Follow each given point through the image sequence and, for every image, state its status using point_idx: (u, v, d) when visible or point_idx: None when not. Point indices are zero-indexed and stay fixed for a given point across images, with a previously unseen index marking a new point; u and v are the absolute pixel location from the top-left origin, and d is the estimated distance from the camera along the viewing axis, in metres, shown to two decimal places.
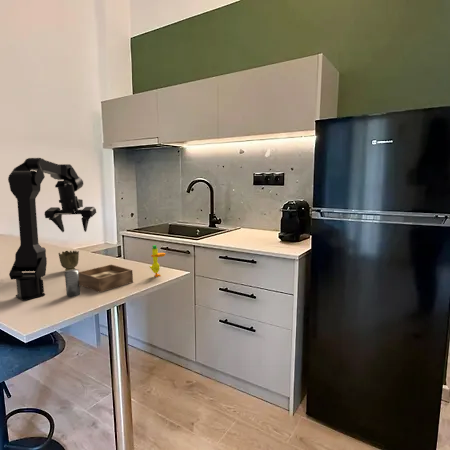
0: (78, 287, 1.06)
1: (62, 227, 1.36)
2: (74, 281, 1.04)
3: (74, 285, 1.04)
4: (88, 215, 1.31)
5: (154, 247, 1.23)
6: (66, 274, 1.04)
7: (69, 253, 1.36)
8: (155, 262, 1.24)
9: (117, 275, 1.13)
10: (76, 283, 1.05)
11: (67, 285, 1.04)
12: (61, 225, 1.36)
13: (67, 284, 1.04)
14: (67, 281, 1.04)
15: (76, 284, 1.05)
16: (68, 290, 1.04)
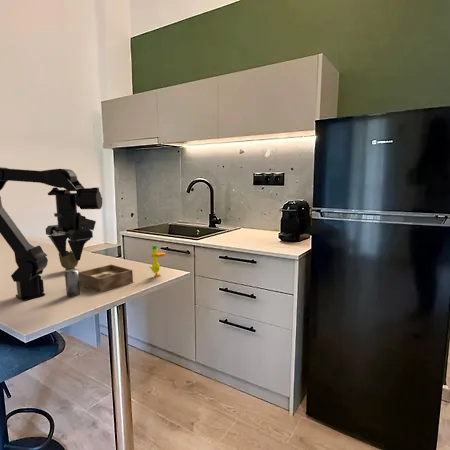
0: (78, 287, 1.06)
1: (62, 250, 1.07)
2: (74, 281, 1.04)
3: (74, 285, 1.04)
4: (72, 237, 0.96)
5: (154, 247, 1.23)
6: (66, 274, 1.04)
7: (69, 253, 1.36)
8: (155, 262, 1.24)
9: (117, 275, 1.13)
10: (76, 283, 1.05)
11: (67, 285, 1.04)
12: (61, 247, 1.07)
13: (67, 284, 1.04)
14: (67, 281, 1.04)
15: (76, 284, 1.05)
16: (68, 290, 1.04)
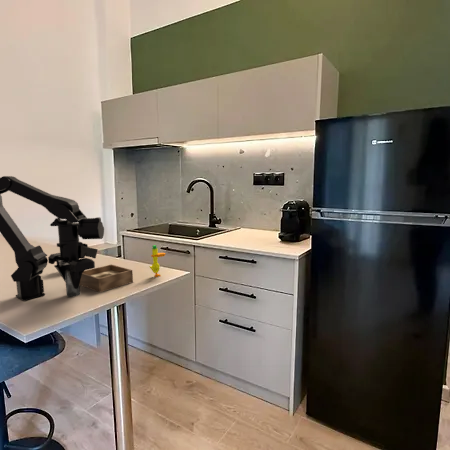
0: (78, 287, 1.06)
1: None
2: None
3: None
4: (74, 268, 0.97)
5: (154, 247, 1.23)
6: (66, 274, 1.04)
7: None
8: (155, 262, 1.24)
9: (117, 275, 1.13)
10: None
11: (67, 285, 1.04)
12: None
13: (67, 284, 1.04)
14: (67, 281, 1.04)
15: None
16: (68, 290, 1.04)
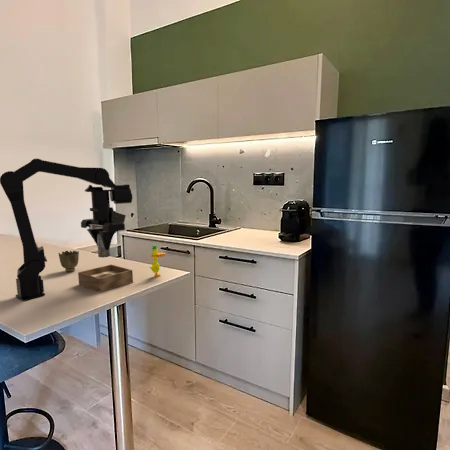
0: (109, 249, 1.15)
1: None
2: None
3: None
4: (107, 229, 1.07)
5: (154, 247, 1.23)
6: (98, 236, 1.13)
7: (69, 253, 1.36)
8: (155, 262, 1.24)
9: (117, 275, 1.13)
10: None
11: (99, 246, 1.14)
12: None
13: (99, 245, 1.14)
14: (99, 242, 1.14)
15: None
16: (100, 251, 1.14)
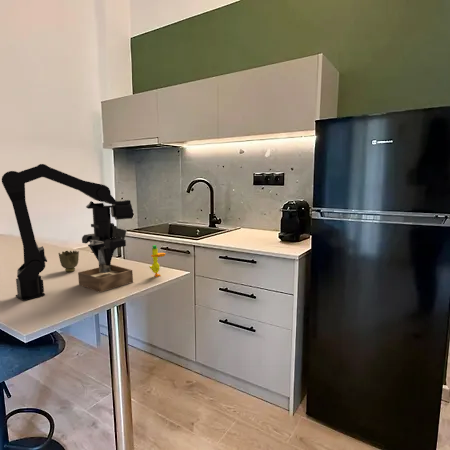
0: None
1: None
2: None
3: None
4: (108, 246, 1.08)
5: (154, 247, 1.23)
6: (99, 252, 1.14)
7: (69, 253, 1.36)
8: (155, 262, 1.24)
9: (117, 275, 1.13)
10: None
11: (100, 262, 1.15)
12: None
13: (100, 261, 1.15)
14: (100, 258, 1.14)
15: None
16: (101, 266, 1.15)
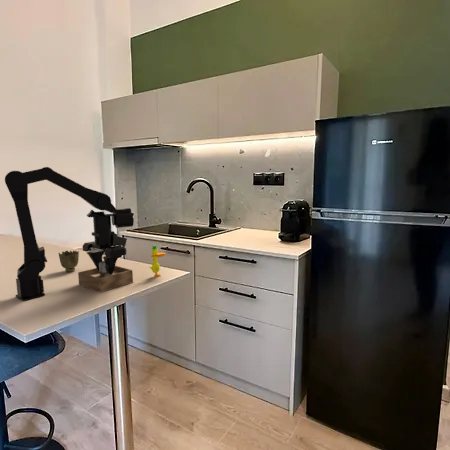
0: None
1: None
2: (107, 270, 1.15)
3: (107, 274, 1.16)
4: (109, 254, 1.08)
5: (154, 247, 1.23)
6: (100, 264, 1.15)
7: (69, 253, 1.36)
8: (155, 262, 1.24)
9: (117, 275, 1.13)
10: None
11: (101, 274, 1.15)
12: (98, 263, 1.18)
13: (101, 273, 1.15)
14: (101, 271, 1.15)
15: (109, 274, 1.16)
16: None
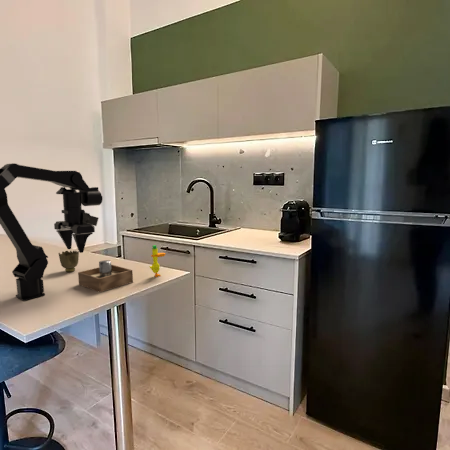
0: None
1: (68, 243, 1.20)
2: (107, 270, 1.15)
3: (107, 274, 1.16)
4: (76, 231, 1.08)
5: (154, 247, 1.23)
6: (100, 264, 1.15)
7: (69, 253, 1.36)
8: (155, 262, 1.24)
9: (117, 275, 1.13)
10: (109, 273, 1.16)
11: (101, 274, 1.15)
12: (67, 241, 1.19)
13: (101, 273, 1.15)
14: (101, 271, 1.15)
15: (109, 274, 1.16)
16: None
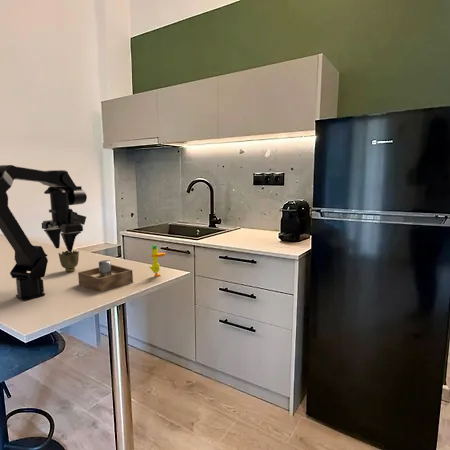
0: None
1: (56, 242, 1.20)
2: (107, 270, 1.15)
3: (107, 274, 1.16)
4: (64, 230, 1.09)
5: (154, 247, 1.23)
6: (100, 264, 1.15)
7: (69, 253, 1.36)
8: (155, 262, 1.24)
9: (117, 275, 1.13)
10: (109, 273, 1.16)
11: (101, 274, 1.15)
12: (55, 240, 1.20)
13: (101, 273, 1.15)
14: (101, 271, 1.15)
15: (109, 274, 1.16)
16: None
